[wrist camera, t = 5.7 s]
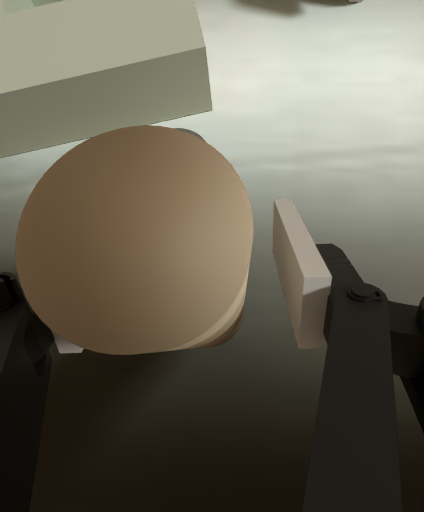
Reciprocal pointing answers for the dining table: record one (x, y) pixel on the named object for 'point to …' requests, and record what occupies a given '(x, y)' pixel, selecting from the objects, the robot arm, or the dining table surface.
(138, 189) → the maple pin
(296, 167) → the dining table surface
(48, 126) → the sage block
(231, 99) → the dining table surface
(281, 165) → the dining table surface
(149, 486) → the dining table surface
